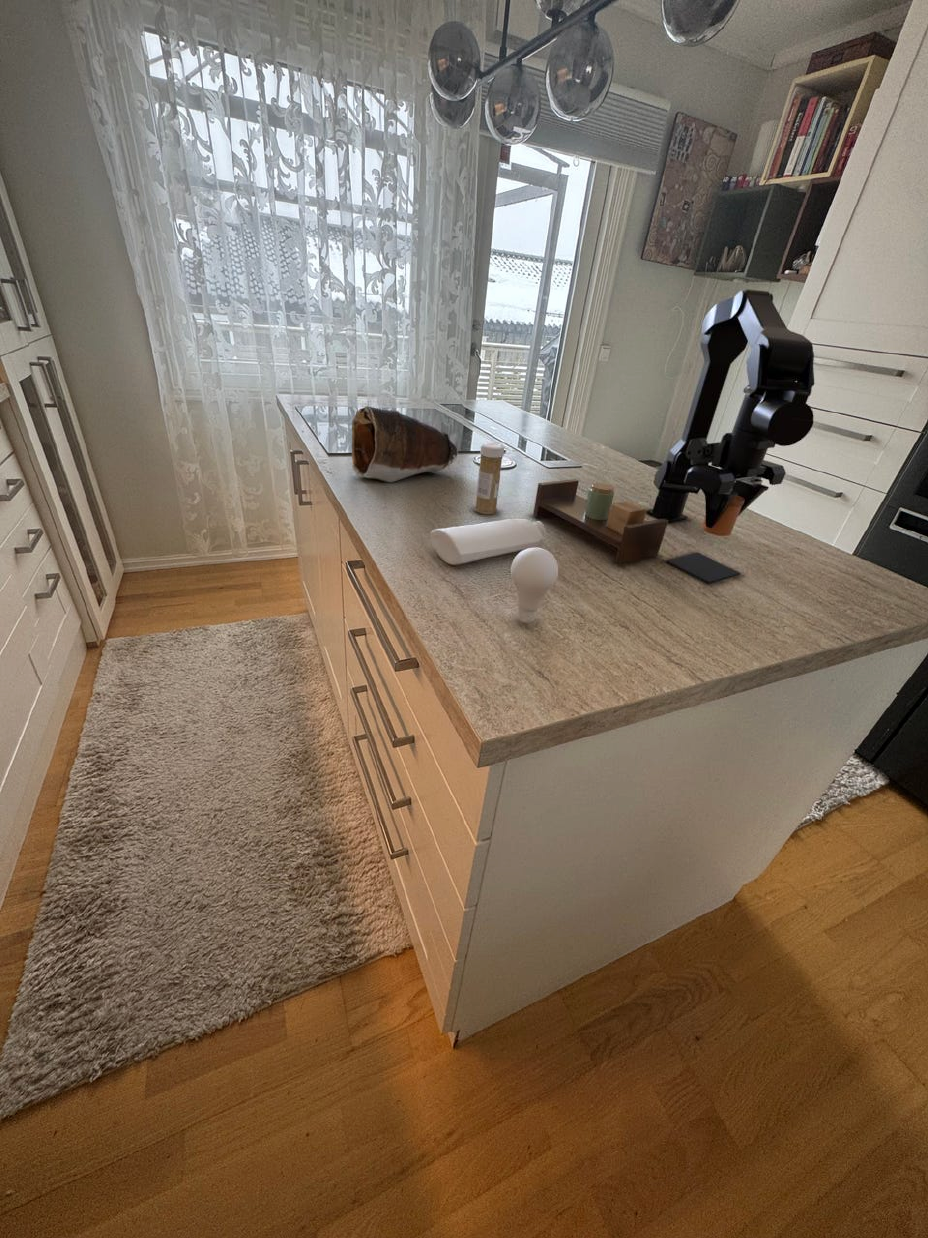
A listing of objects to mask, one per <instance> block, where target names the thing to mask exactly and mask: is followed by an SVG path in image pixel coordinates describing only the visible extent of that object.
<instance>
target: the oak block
mask: <svg viewBox="0 0 928 1238" xmlns="http://www.w3.org/2000/svg"><path fill="white" fill-rule="evenodd" d="M647 510H648V508H645V507H644V506H642V505H640V504H637V503H634V502H632V501H630V500H625V501H620V502H619V501H618V502H612V504H611V508H610V513H609V517H608V521H607V525H606V527H608V528H610V529H612V530H614V531H616V532H618V533H620V534H623V531H624V527H625V526H626V525H631V524H636V523H642V522H645V517H646V514H647Z"/></svg>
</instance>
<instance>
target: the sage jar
mask: <svg viewBox="0 0 928 1238" xmlns="http://www.w3.org/2000/svg"><path fill="white" fill-rule="evenodd" d="M614 495H615V491H614V486H613V485H611V484H608V483H603V482H593V483H591V487H589V489H588V494H587V498H586V500H587V502H586V507H585V511H584V515H585V516H586V517H588V518H590V519H594V520H606V519H608V516H609V512H610V509H611V505H612V503H613V500H614V497H615V496H614Z"/></svg>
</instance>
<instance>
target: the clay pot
mask: <svg viewBox="0 0 928 1238" xmlns="http://www.w3.org/2000/svg"><path fill="white" fill-rule="evenodd" d="M458 456H459V451H458V448H457V446H456V445H455V443H454V442H452V441H451V440H450V437H449V434H448V433H446V432H445V431H440V430H438V429H437V428H435V427H434V426H431V425H430V424H429V423H426V422H423V421H420V420H419V419H417V418H415V417H411V416H408V415H406V414H403V413H401V412H400V411H399V410H390V409H389V410H388V409H383V408H378V407H373V406H364V407H362V408H359V409H358V410H357V411H356V412H355V414H354V418H353V419H352V422H351V460H352V469H353V471H354V473H355V475H356V476H357V477H359V478H366V479H372V480H376V481H381V482H386V483H389V484H390V483H394V482H397V481H400V480H402V479H405V478H407V477H411V476H414V475H417V474H421V473H425V472H432V473H439V472H441V471H443V470H445V469H446V468H447V467H450V466H451V465H452V464H453V463H455V460H456V459H458Z"/></svg>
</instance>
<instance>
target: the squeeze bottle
mask: <svg viewBox="0 0 928 1238" xmlns="http://www.w3.org/2000/svg"><path fill="white" fill-rule="evenodd" d="M545 533H546V531H545V525H544V524H543V523H542V521H540V520H536V521H531V520H528V519H525V518H508V519H501V520H496V521H487V522H483V523H482V522H480V523H477V524H476V523H475V524H467V525H460V526H452V527H446V528H436V529H433V530H432V531H430V542H431V543H430V544H431V545H432V547H433V549H434V551H435V552H436V554H437V556H439V558H441V560H443V561H444V562H445V563H446V564H448V565H452V566H457V565H462V564H467V563H470V562H476V561H479V560H484V559H489V558H492V557H496V556H502V555H507V554H511V553H517V552H522V551H523V550H525V549H528V548H533V547H538V548H539V546H543V545H544V542H545V537H544V536H545Z"/></svg>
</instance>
